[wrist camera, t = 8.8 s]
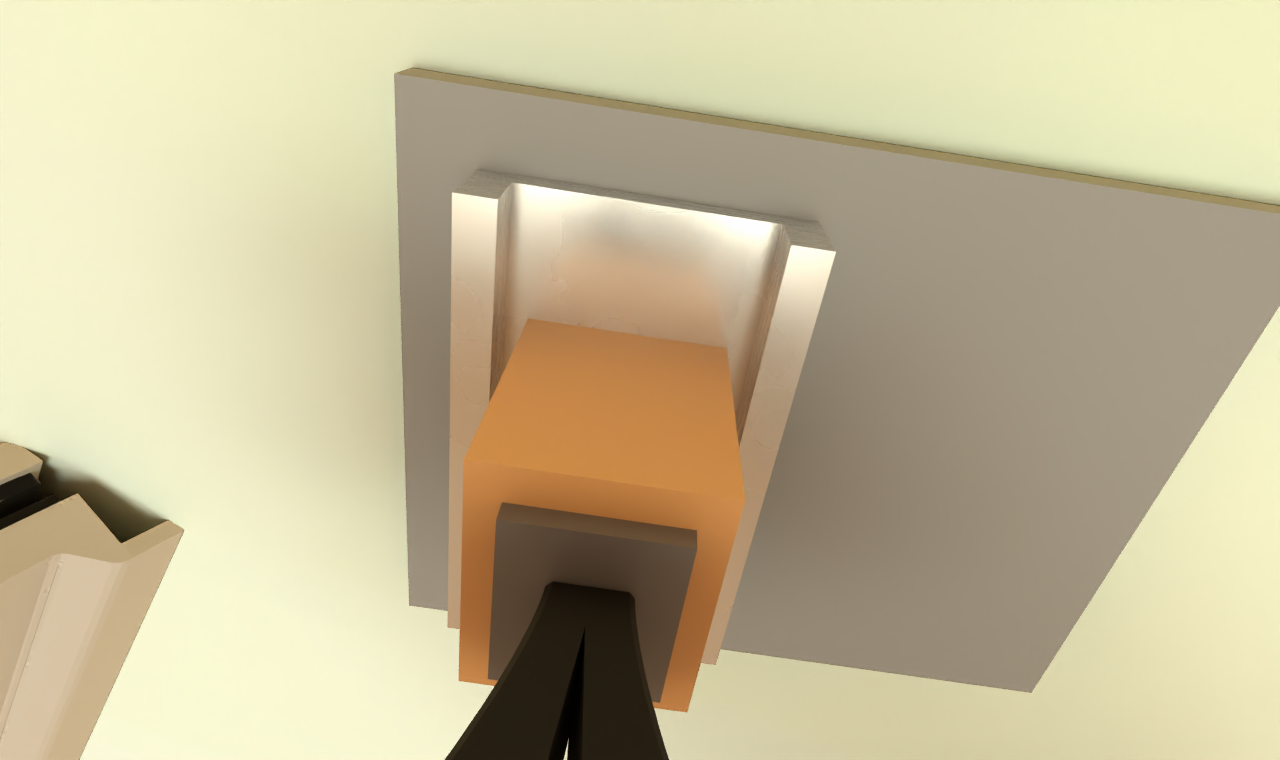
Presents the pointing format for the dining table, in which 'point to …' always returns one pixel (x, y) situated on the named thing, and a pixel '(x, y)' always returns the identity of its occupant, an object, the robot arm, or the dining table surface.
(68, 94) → the dining table surface
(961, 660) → the mount board
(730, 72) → the dining table surface
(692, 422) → the module
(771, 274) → the rail
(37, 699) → the beige rounded block
